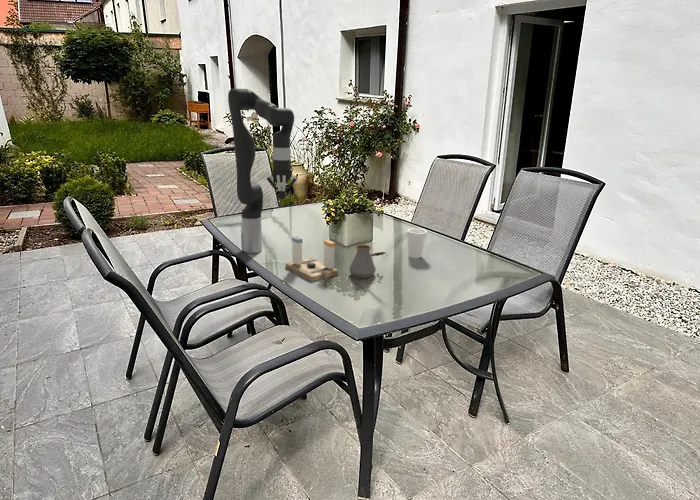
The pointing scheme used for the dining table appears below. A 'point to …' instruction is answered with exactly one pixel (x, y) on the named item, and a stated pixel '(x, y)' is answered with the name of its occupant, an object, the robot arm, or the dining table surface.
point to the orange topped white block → (329, 254)
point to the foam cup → (416, 242)
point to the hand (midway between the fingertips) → (282, 199)
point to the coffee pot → (363, 262)
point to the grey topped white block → (297, 250)
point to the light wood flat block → (312, 269)
